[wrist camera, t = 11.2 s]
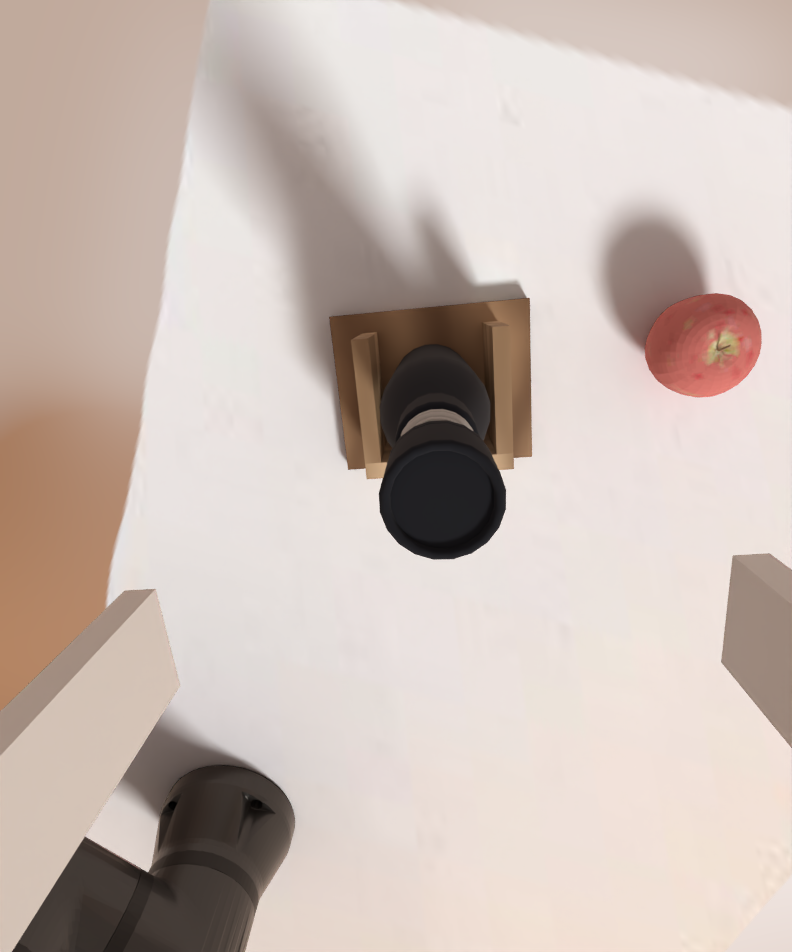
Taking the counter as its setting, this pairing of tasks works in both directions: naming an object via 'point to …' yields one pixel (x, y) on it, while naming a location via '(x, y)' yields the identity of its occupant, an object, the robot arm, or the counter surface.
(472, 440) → the wine bottle
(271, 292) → the counter surface
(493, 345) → the u rest
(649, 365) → the apple
